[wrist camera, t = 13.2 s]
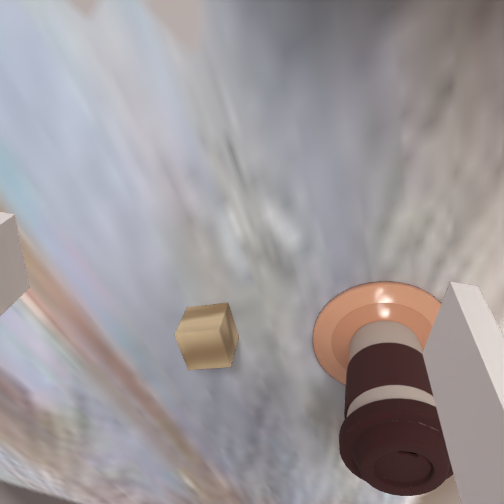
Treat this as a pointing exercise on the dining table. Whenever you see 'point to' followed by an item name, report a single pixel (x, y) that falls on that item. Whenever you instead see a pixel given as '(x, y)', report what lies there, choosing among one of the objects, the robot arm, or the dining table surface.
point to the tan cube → (207, 336)
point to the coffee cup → (392, 413)
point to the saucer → (369, 319)
